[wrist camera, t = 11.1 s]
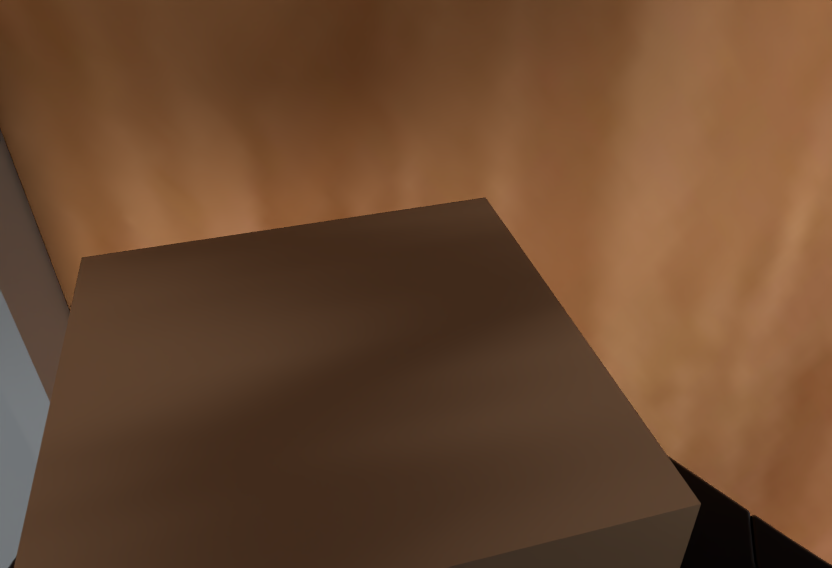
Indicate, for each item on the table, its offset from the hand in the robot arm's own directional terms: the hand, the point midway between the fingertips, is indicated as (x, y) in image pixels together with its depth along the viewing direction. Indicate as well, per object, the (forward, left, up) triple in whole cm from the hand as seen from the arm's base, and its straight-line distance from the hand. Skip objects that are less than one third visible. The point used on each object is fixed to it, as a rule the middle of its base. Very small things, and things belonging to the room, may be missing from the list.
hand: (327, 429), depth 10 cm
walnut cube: (0, 0, -1) cm, 1 cm away
